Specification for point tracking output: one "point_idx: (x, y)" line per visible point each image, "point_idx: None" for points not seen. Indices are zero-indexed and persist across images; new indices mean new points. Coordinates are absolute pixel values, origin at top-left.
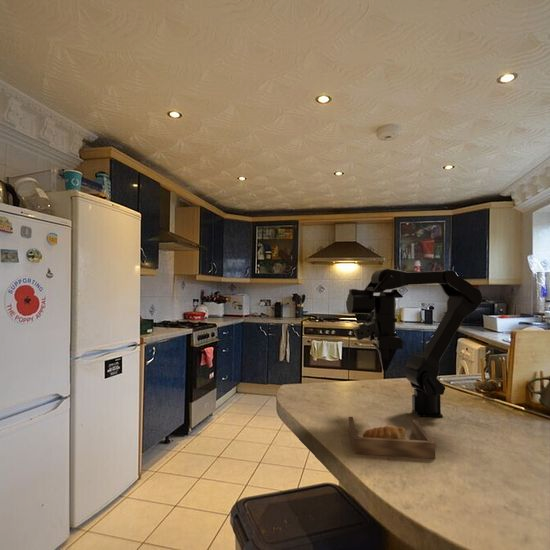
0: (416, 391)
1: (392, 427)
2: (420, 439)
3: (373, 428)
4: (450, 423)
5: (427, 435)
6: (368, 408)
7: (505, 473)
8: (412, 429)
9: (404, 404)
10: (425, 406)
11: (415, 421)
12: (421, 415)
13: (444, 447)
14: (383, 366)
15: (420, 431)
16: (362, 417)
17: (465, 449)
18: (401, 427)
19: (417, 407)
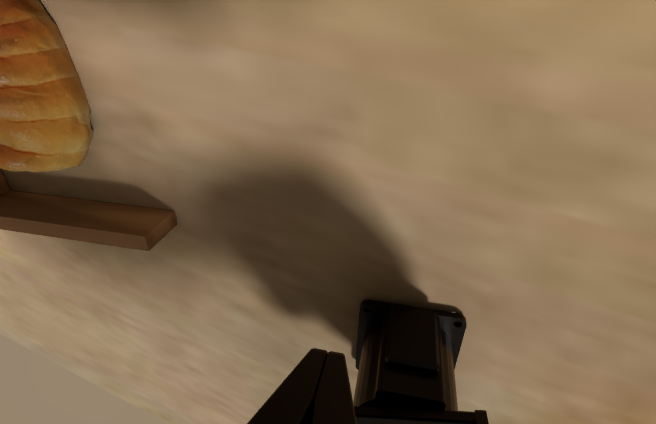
0: (387, 390)
1: (1, 127)
2: (69, 206)
3: (4, 41)
4: (303, 355)
5: (9, 226)
6: (496, 105)
7: (15, 305)
8: (163, 216)
9: (553, 311)
10: (364, 352)
11: (131, 241)
12: (360, 309)
13: (93, 254)
14: (283, 387)
15: (44, 220)
16: (318, 32)
17: (104, 296)
18: (27, 165)
19: (384, 326)
